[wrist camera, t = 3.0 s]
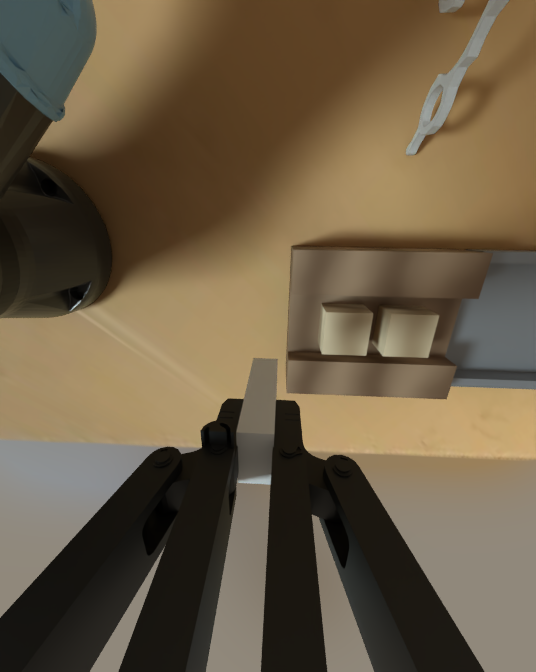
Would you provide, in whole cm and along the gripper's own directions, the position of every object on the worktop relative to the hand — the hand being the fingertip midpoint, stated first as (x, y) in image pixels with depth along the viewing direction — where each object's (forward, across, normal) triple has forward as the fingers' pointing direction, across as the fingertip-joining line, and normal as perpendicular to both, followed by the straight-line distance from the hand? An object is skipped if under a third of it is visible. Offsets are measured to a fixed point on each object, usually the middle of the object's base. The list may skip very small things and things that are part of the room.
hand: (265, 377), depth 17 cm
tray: (+14, +26, 0) cm, 29 cm away
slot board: (+13, +10, 0) cm, 17 cm away
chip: (+11, +12, 0) cm, 16 cm away
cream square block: (+10, +7, 0) cm, 12 cm away
